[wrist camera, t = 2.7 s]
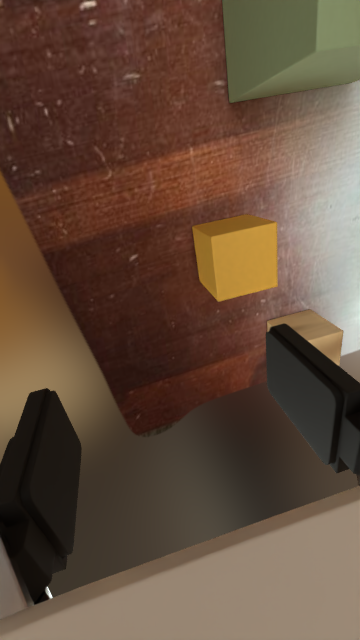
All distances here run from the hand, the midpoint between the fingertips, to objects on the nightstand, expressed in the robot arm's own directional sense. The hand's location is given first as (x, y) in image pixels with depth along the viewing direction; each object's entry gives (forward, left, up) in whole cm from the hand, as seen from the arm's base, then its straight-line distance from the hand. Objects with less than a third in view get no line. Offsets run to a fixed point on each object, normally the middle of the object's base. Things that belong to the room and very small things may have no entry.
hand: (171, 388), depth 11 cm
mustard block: (+7, -4, -16) cm, 18 cm away
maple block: (+7, -17, -16) cm, 24 cm away
